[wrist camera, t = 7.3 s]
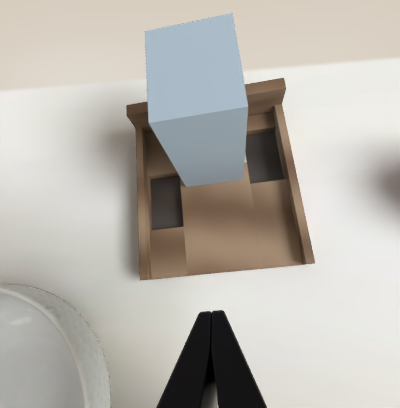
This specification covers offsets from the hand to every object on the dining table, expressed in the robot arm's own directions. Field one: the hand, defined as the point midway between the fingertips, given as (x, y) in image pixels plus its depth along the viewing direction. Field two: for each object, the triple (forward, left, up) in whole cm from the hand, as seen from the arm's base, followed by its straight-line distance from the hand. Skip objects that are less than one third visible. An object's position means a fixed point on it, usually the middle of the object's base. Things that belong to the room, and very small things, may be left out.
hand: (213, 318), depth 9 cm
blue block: (+7, +10, -12) cm, 17 cm away
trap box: (+5, +7, -13) cm, 15 cm away
